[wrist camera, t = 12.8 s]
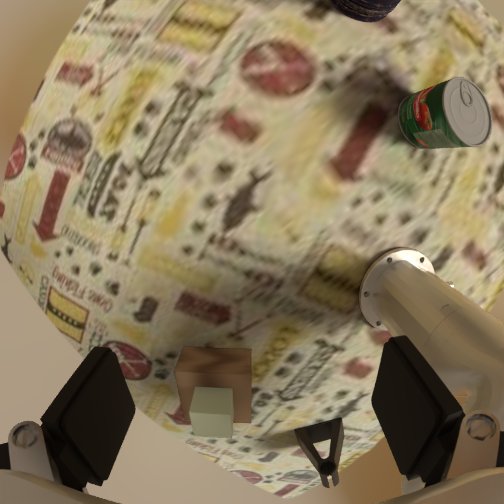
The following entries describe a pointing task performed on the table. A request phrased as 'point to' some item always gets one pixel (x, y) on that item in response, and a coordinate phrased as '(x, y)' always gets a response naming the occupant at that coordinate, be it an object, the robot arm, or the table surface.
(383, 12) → the storage jar
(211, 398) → the sage block
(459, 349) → the robot arm
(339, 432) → the phone stand
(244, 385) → the walnut block
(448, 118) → the canned tomato
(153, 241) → the table surface
